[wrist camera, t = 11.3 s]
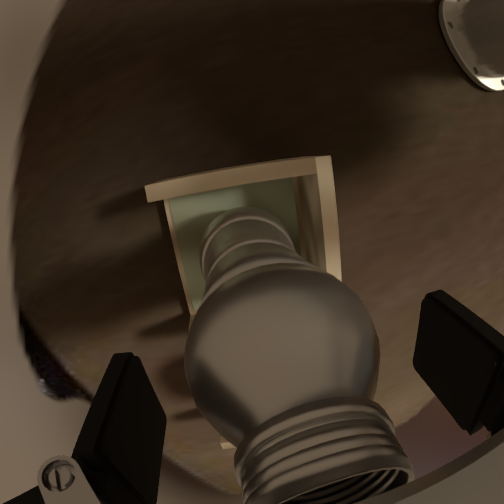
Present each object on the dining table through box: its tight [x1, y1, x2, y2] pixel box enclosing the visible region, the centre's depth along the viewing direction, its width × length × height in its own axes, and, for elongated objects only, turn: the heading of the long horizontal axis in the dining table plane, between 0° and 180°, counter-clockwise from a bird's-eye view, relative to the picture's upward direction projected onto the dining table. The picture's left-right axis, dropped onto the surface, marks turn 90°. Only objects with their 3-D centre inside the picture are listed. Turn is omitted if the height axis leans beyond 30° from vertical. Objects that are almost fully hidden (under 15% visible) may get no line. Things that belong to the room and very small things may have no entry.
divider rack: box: [145, 156, 341, 449], centre depth 23 cm, size 23×11×6 cm, turn 9°
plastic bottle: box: [183, 207, 415, 504], centre depth 14 cm, size 6×7×20 cm
